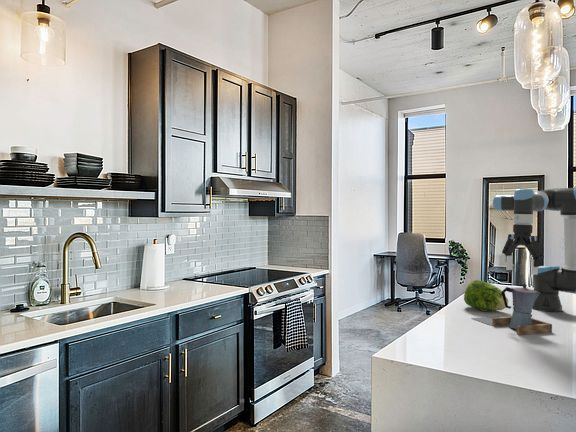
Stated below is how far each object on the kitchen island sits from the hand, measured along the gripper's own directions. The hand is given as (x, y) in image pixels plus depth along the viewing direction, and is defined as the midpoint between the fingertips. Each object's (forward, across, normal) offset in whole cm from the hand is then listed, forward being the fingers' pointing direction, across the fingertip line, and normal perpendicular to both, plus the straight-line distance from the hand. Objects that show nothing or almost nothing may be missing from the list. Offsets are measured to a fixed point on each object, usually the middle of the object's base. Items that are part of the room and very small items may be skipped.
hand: (521, 272), depth 188 cm
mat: (+25, -14, -1) cm, 29 cm away
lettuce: (+25, -33, +11) cm, 43 cm away
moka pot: (+25, 0, 0) cm, 25 cm away
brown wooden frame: (+25, 0, 0) cm, 25 cm away
